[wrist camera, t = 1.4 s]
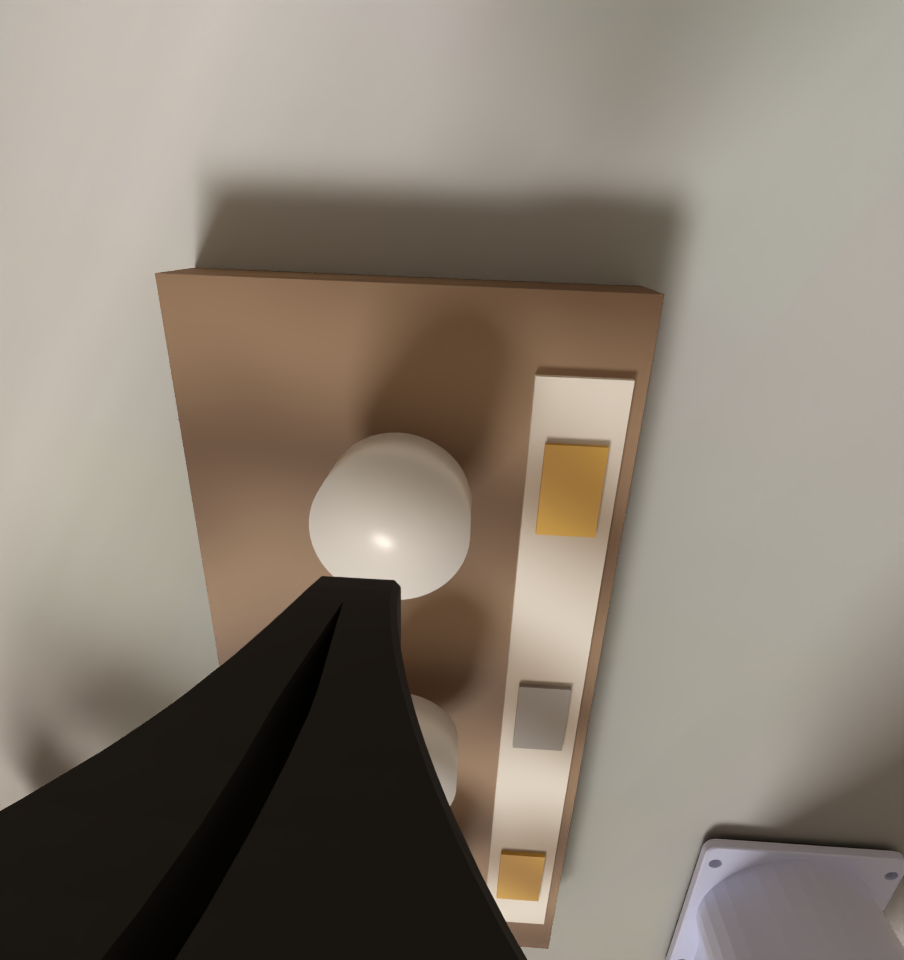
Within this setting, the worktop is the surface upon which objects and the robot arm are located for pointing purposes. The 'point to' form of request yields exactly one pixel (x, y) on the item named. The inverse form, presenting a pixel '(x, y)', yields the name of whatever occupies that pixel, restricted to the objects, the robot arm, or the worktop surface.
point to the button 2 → (393, 514)
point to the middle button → (439, 742)
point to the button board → (494, 501)
